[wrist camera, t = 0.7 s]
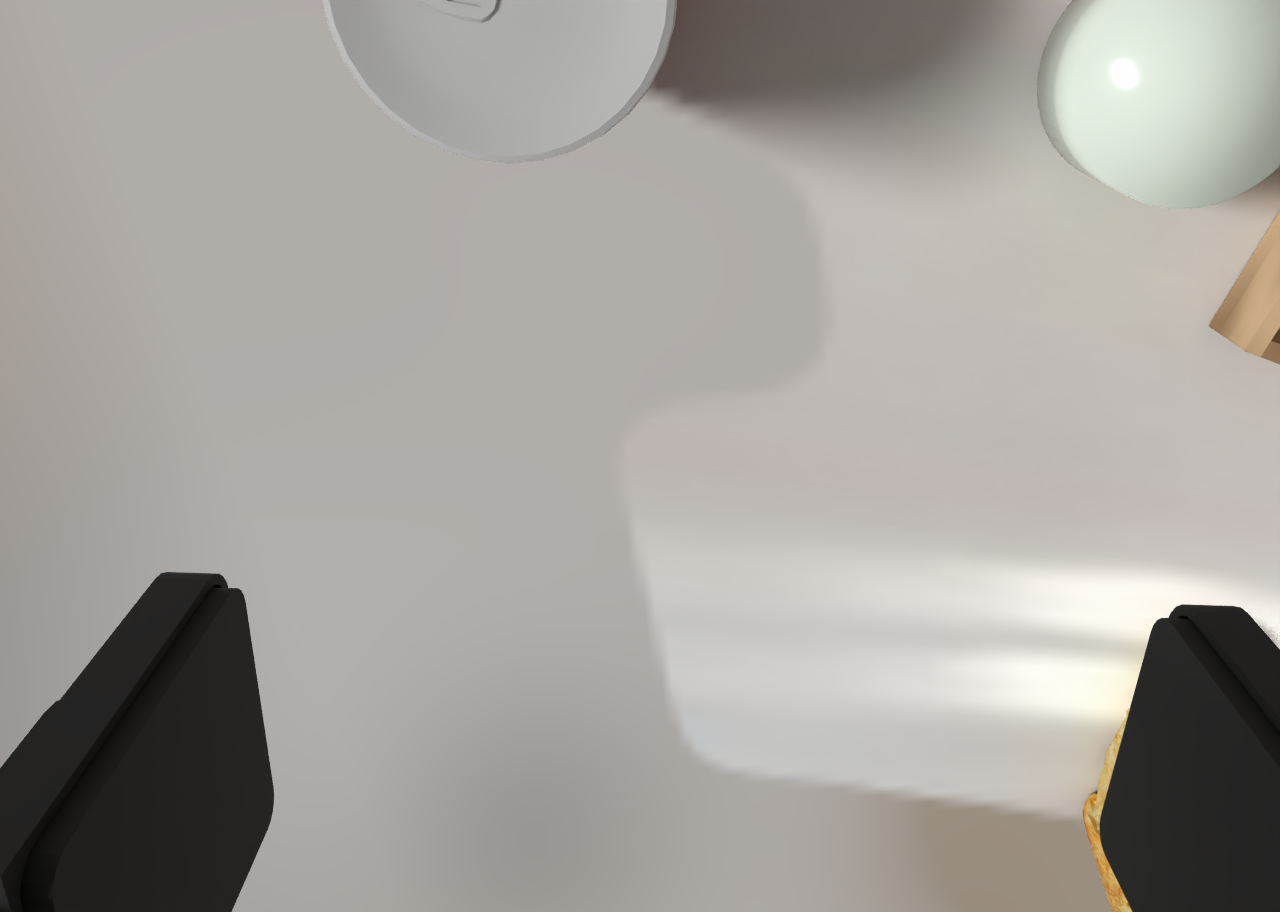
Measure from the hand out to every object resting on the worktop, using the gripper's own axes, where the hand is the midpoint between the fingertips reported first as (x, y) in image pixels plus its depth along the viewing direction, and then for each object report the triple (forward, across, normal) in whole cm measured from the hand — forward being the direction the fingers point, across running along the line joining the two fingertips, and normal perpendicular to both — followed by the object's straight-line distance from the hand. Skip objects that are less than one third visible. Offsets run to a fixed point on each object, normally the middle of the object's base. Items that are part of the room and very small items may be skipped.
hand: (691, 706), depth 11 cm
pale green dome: (+28, -15, -4) cm, 32 cm away
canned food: (+28, +4, -6) cm, 29 cm away
